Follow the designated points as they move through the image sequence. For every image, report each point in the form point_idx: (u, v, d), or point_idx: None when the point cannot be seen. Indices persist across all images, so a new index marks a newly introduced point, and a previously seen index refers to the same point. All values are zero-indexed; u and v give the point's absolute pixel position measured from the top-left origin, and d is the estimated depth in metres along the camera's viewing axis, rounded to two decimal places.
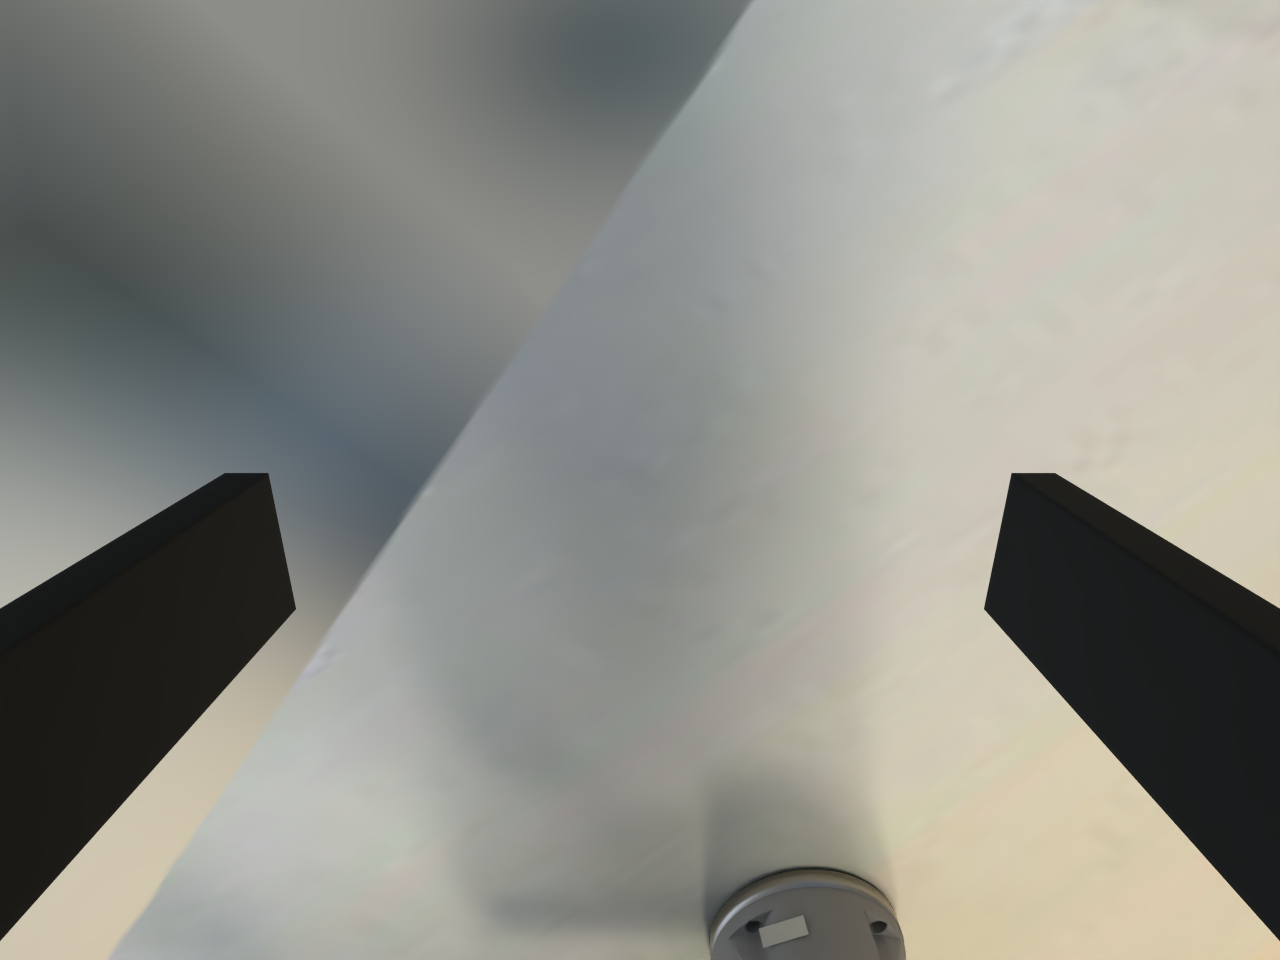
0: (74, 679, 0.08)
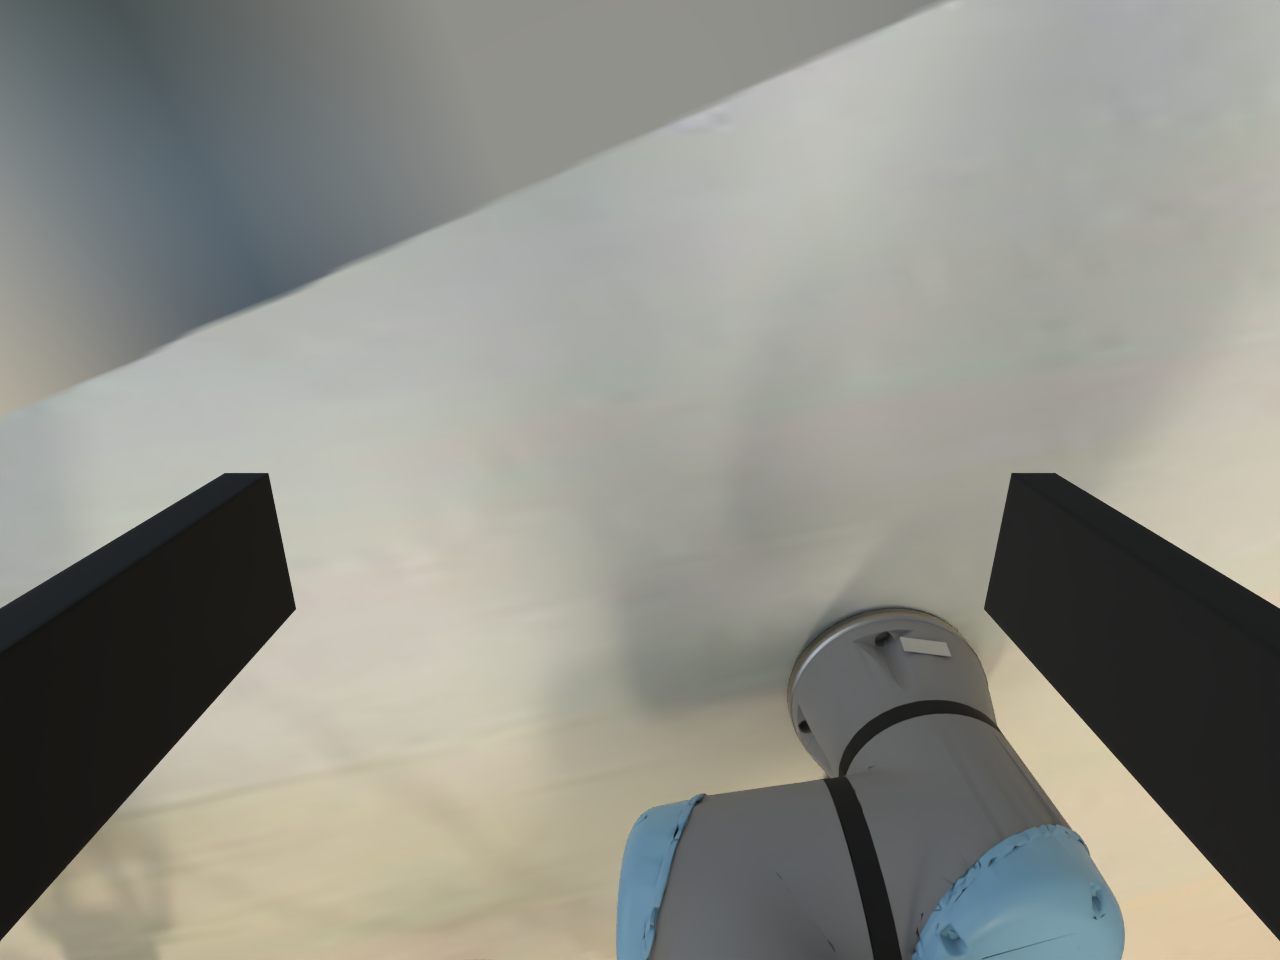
0: (75, 679, 0.08)
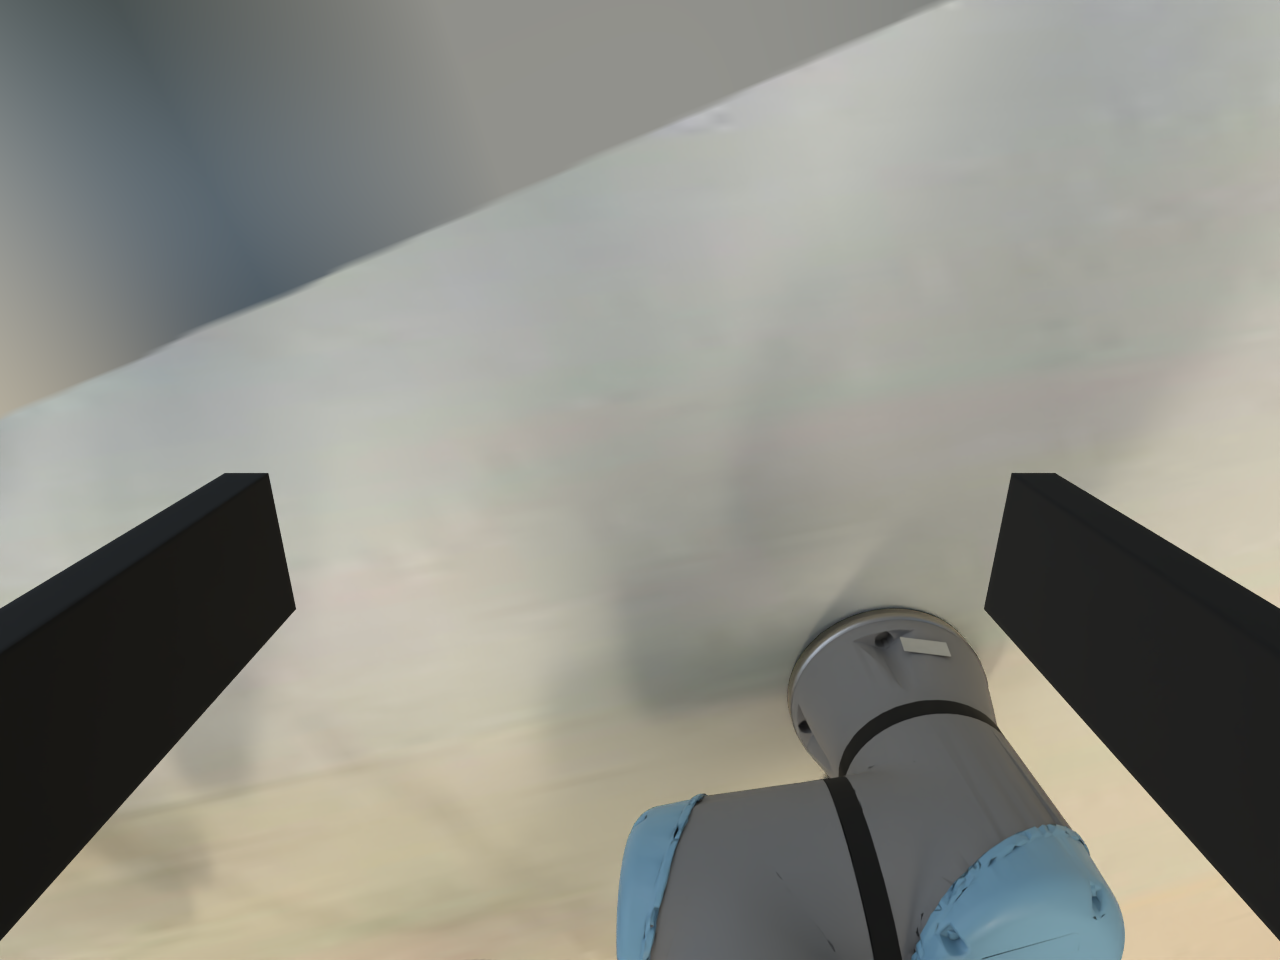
0: (75, 679, 0.08)
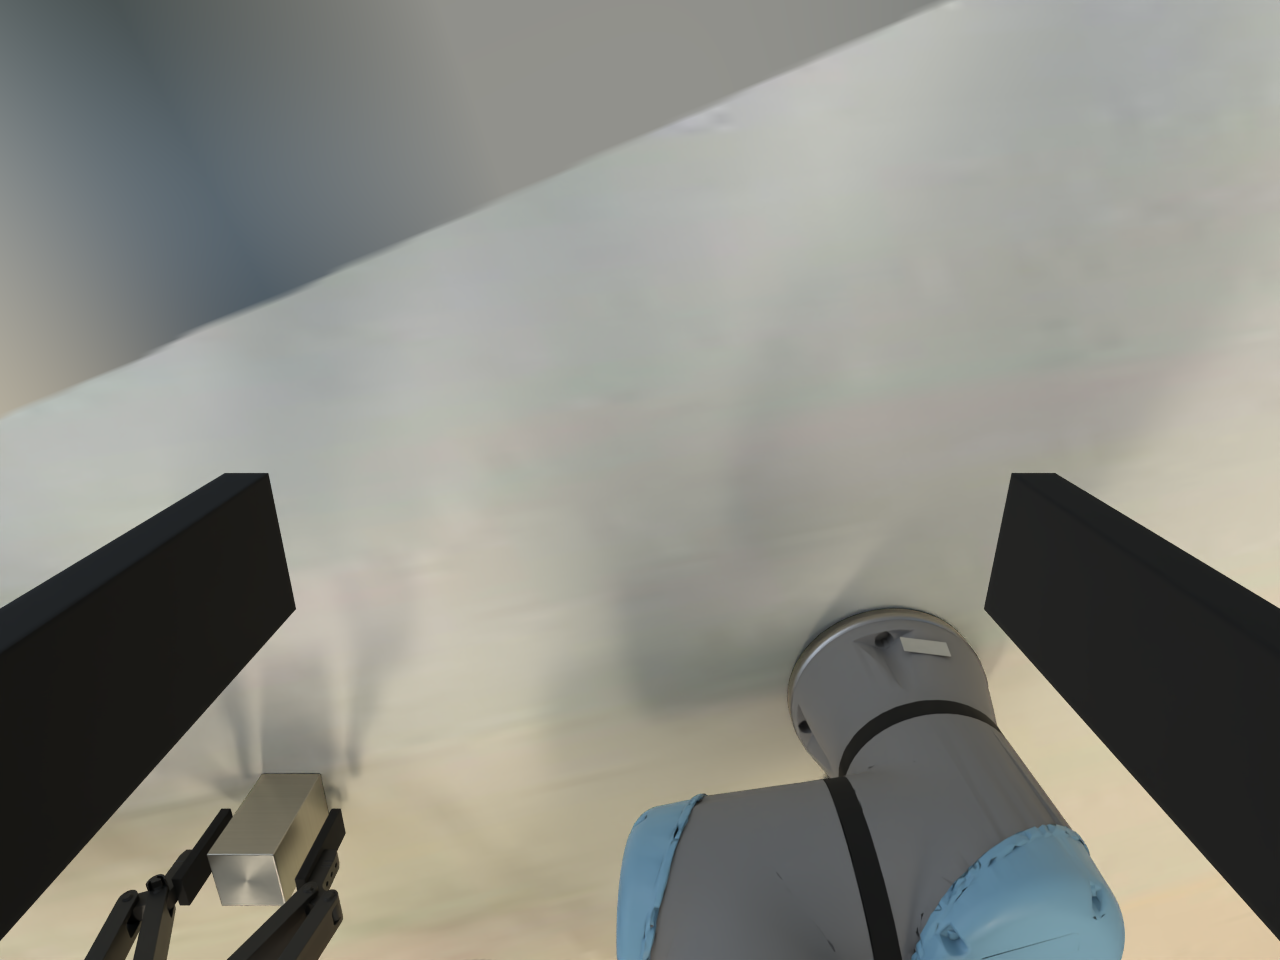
0: (75, 679, 0.08)
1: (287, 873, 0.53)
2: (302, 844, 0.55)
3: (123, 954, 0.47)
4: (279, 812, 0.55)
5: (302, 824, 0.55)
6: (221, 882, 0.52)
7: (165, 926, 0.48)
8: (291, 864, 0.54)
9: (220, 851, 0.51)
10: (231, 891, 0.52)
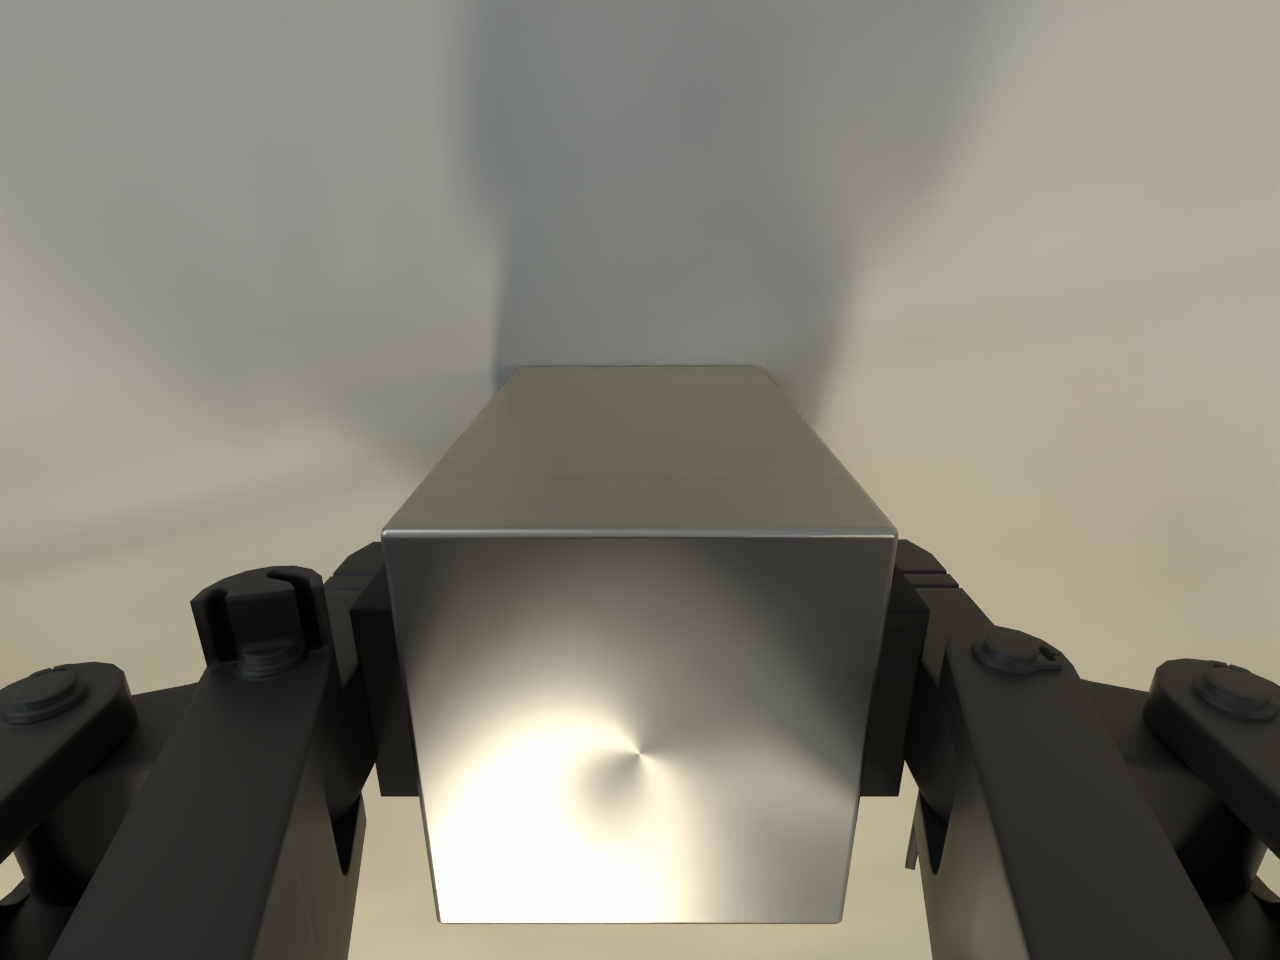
0: None
1: None
2: None
3: None
4: (708, 419, 0.10)
5: None
6: (458, 764, 0.07)
7: None
8: None
9: (474, 518, 0.07)
10: (518, 833, 0.08)
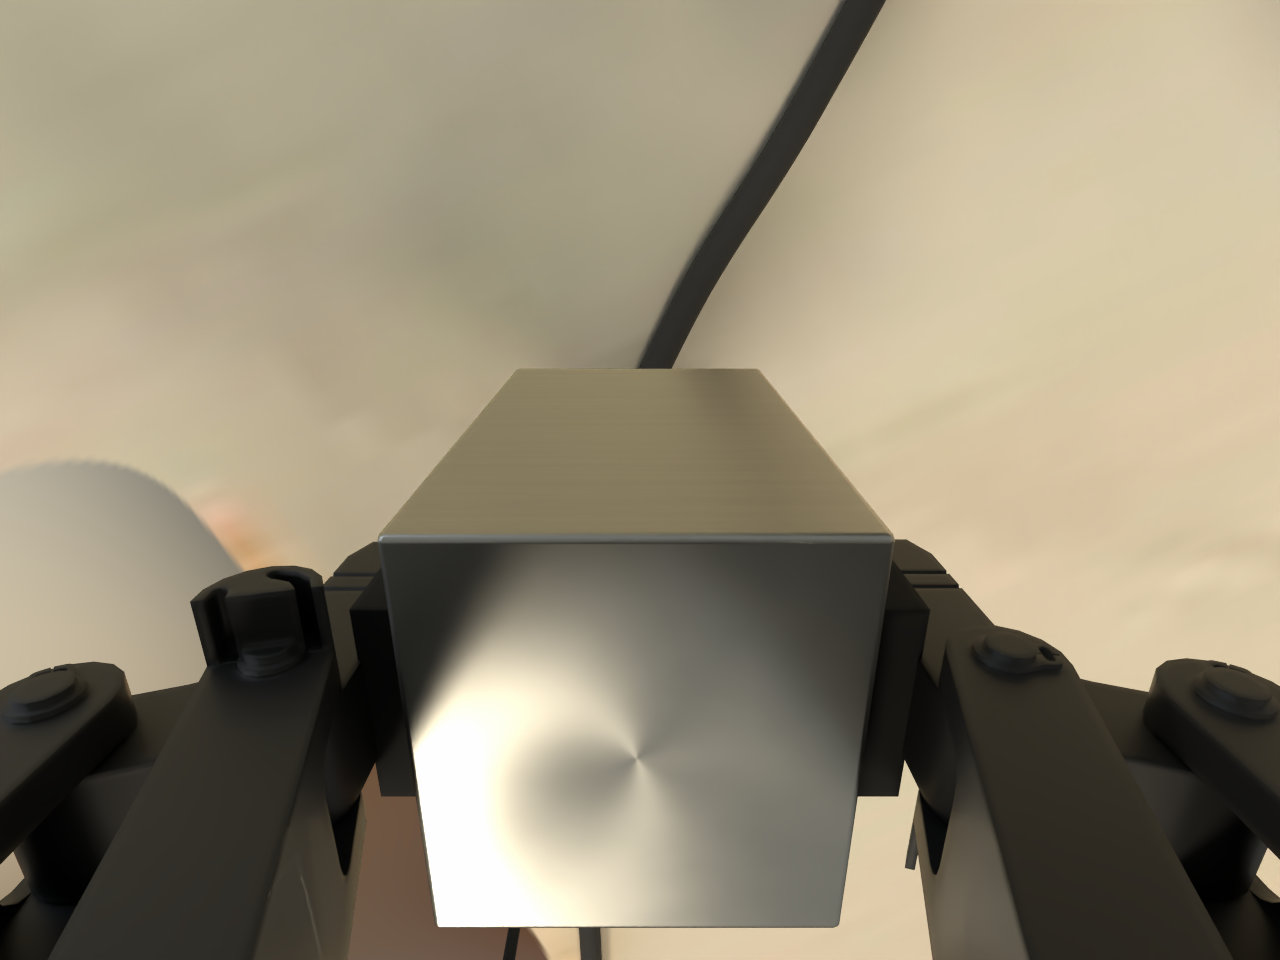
0: None
1: None
2: None
3: None
4: (706, 423, 0.10)
5: None
6: (456, 769, 0.08)
7: None
8: None
9: (471, 524, 0.07)
10: (514, 838, 0.08)
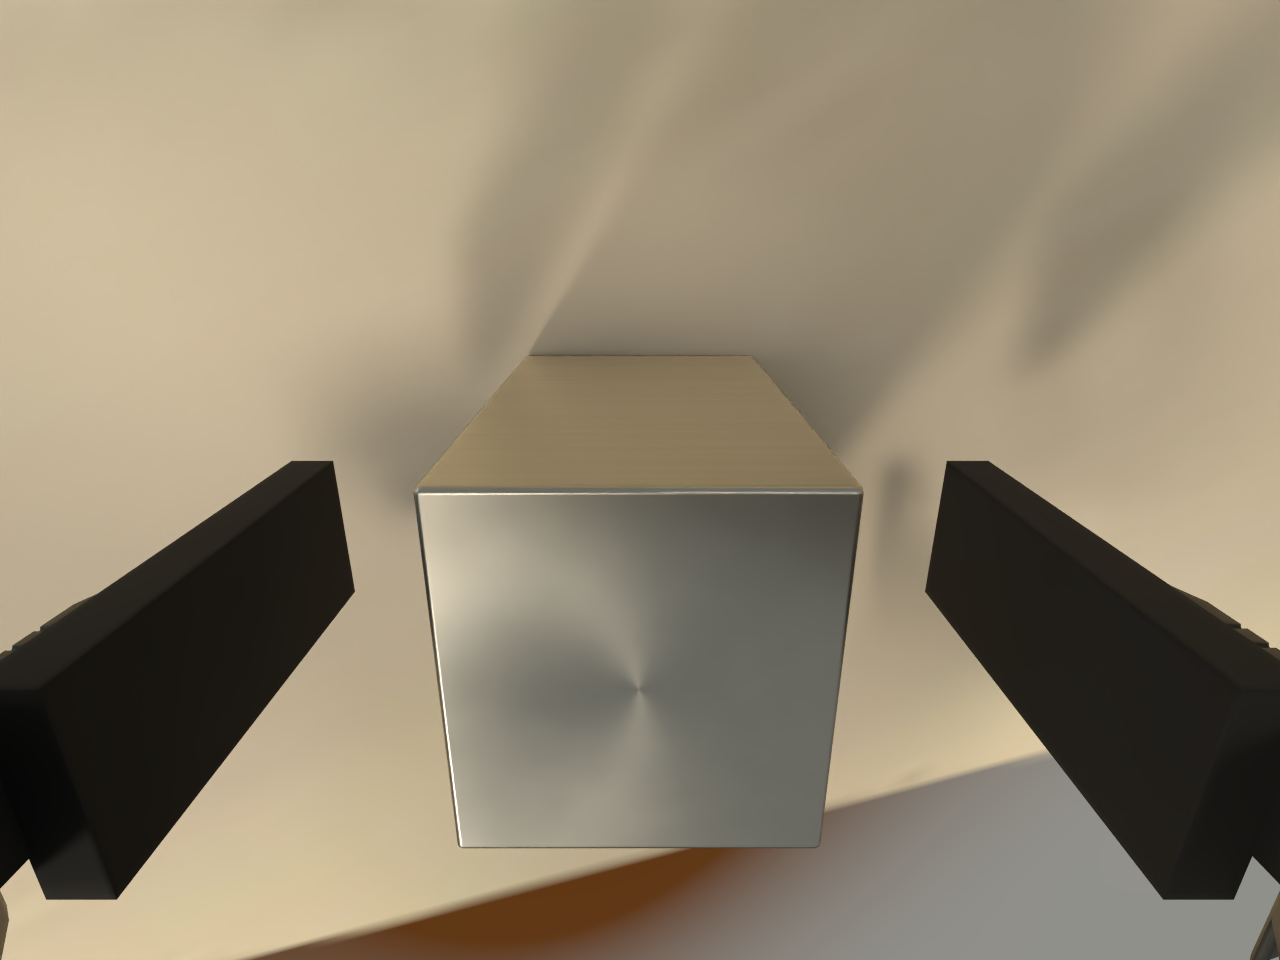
0: (185, 647, 0.08)
1: None
2: None
3: None
4: (701, 401, 0.11)
5: None
6: (480, 699, 0.09)
7: None
8: None
9: (494, 479, 0.08)
10: (530, 762, 0.09)
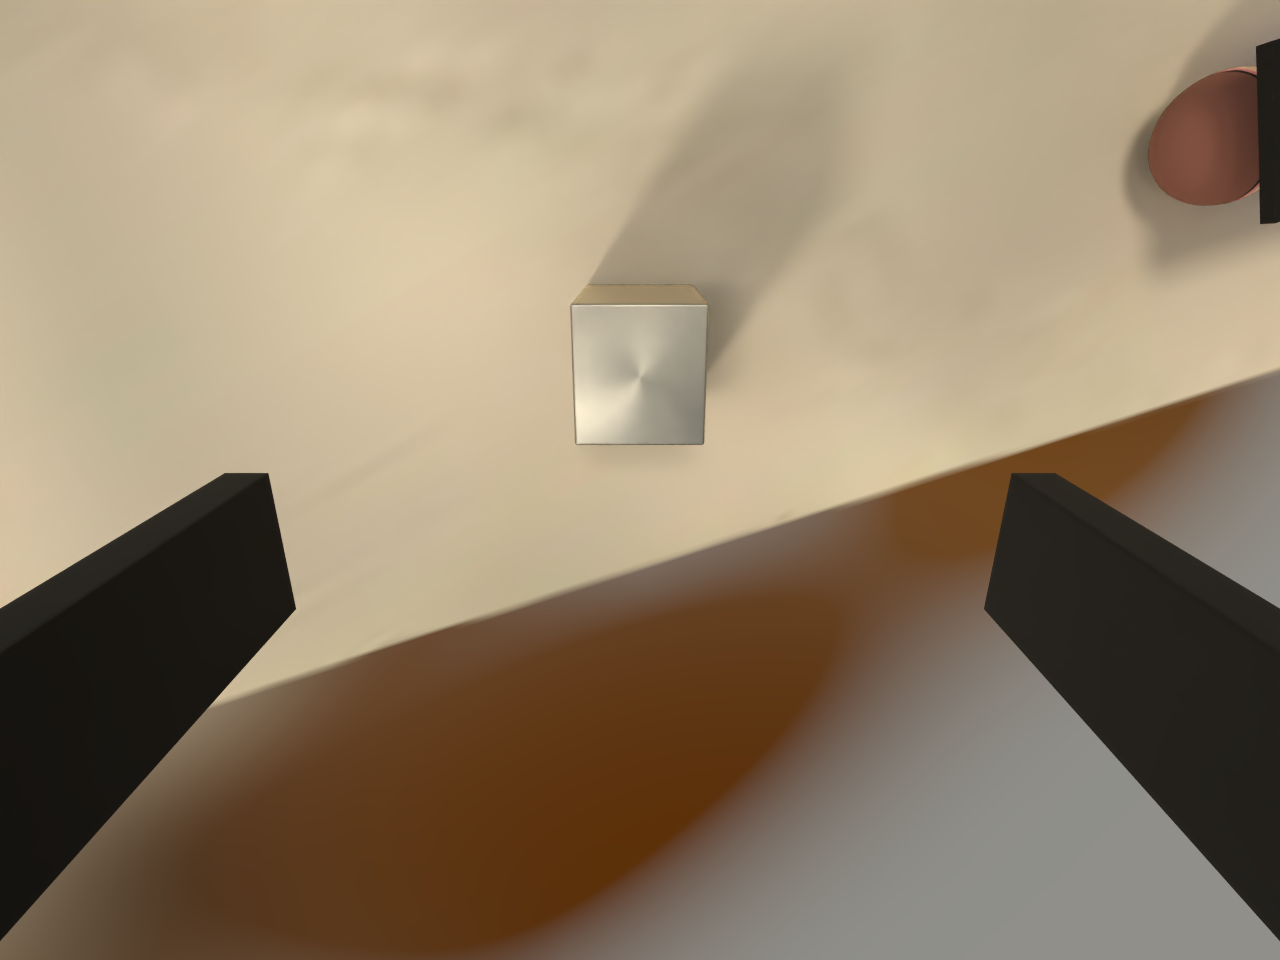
0: (74, 678, 0.08)
1: None
2: None
3: None
4: (664, 293, 0.28)
5: None
6: (586, 380, 0.26)
7: None
8: None
9: (594, 302, 0.25)
10: (602, 406, 0.26)
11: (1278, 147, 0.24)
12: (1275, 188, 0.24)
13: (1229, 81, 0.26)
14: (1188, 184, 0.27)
